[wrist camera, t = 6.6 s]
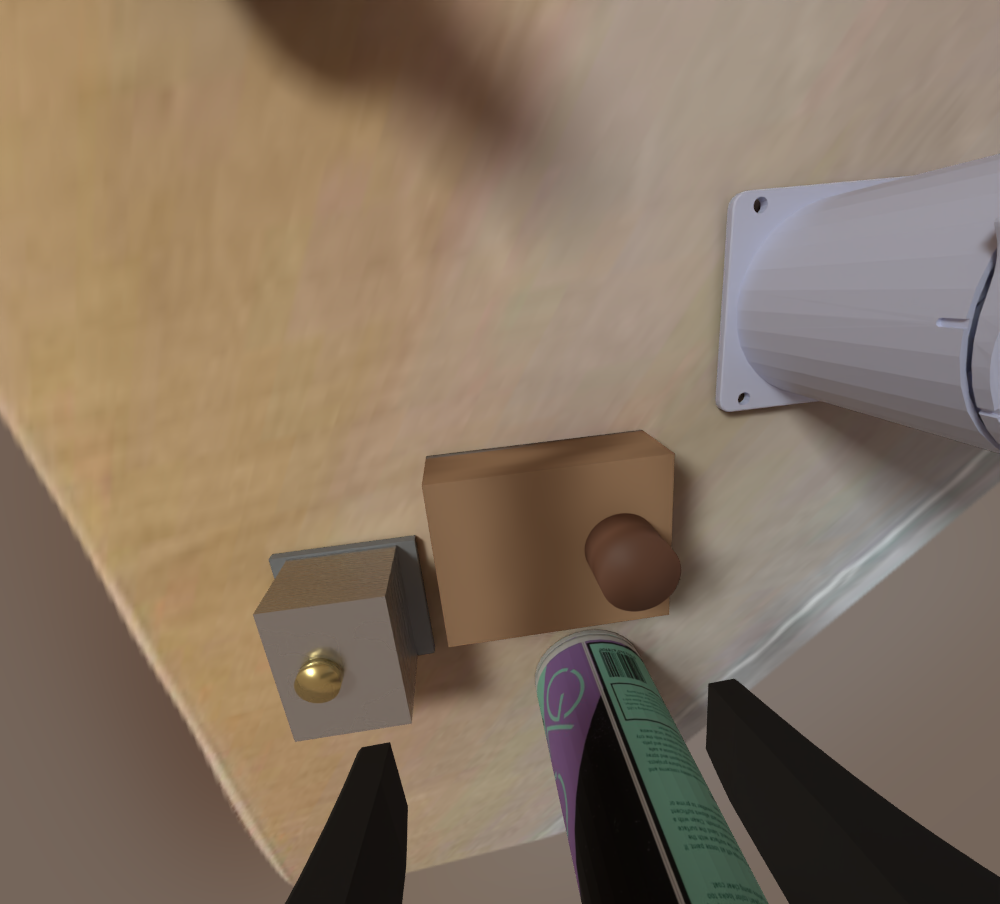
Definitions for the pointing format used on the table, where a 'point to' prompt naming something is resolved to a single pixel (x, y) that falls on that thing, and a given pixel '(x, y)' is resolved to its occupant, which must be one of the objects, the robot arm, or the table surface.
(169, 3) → the table surface
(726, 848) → the spray can
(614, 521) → the body
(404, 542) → the mat
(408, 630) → the grey knob block
